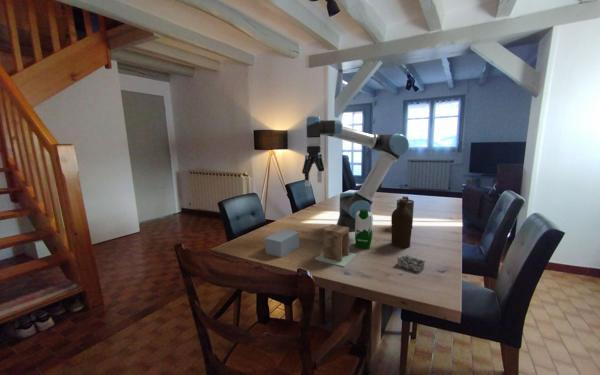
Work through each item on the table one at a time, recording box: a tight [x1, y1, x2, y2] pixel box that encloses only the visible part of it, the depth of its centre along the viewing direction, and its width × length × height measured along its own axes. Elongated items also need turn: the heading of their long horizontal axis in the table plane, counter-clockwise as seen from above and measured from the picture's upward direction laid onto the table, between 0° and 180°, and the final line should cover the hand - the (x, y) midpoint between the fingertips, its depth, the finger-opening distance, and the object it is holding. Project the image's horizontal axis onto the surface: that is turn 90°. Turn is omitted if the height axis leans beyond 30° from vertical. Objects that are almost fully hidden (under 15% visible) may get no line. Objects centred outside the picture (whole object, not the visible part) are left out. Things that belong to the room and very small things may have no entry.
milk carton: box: [354, 209, 374, 250], centre depth 142 cm, size 9×9×20 cm
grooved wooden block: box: [323, 224, 350, 262], centre depth 129 cm, size 16×9×16 cm
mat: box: [314, 251, 358, 268], centre depth 130 cm, size 15×15×1 cm
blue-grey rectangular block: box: [264, 228, 300, 258], centre depth 139 cm, size 10×16×8 cm, turn 147°
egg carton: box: [396, 254, 426, 272], centre depth 119 cm, size 11×8×4 cm
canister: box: [396, 195, 415, 229], centre depth 171 cm, size 11×10×20 cm
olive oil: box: [390, 198, 414, 249], centre depth 142 cm, size 11×11×25 cm
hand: (313, 184), depth 150 cm, fingers open, 13 cm apart
